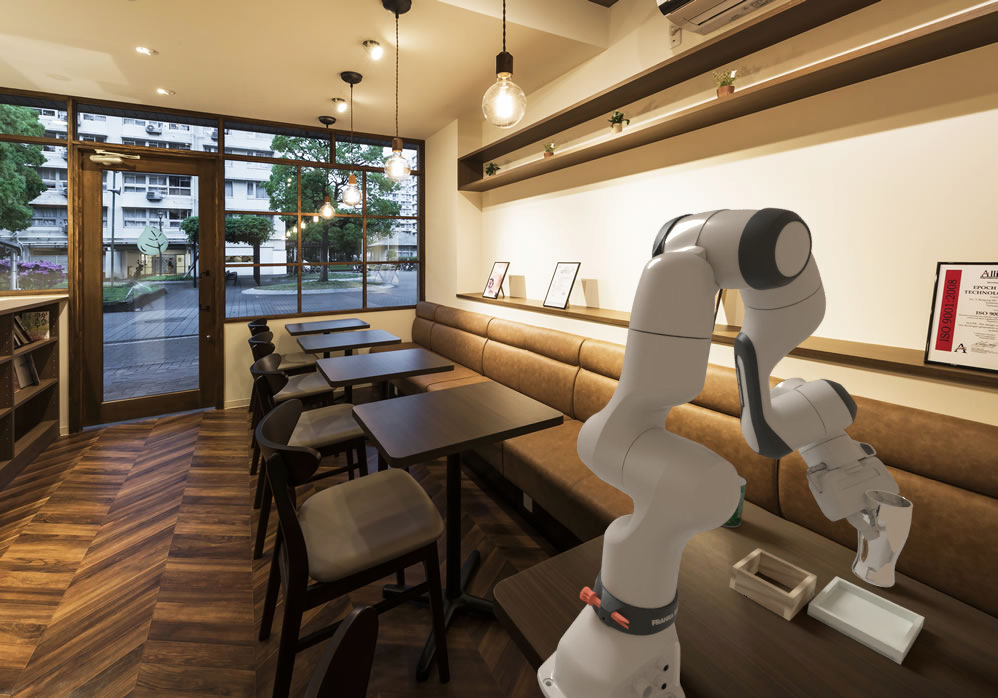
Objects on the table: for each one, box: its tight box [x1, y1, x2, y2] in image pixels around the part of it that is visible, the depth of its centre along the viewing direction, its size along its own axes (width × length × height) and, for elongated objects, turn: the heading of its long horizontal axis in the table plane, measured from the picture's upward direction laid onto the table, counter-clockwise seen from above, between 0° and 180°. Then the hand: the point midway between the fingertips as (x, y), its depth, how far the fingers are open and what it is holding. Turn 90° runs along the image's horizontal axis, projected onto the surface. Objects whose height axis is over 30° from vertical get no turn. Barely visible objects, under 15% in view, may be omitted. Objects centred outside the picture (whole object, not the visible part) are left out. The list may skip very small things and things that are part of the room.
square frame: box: [729, 547, 818, 622], centre depth 93 cm, size 11×11×4 cm
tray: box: [806, 576, 925, 665], centre depth 86 cm, size 14×14×2 cm
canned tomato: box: [720, 475, 747, 528], centre depth 119 cm, size 8×8×11 cm
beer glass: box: [851, 489, 914, 588], centre depth 83 cm, size 7×7×15 cm
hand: (886, 533), depth 82 cm, fingers closed on beer glass, 7 cm apart
